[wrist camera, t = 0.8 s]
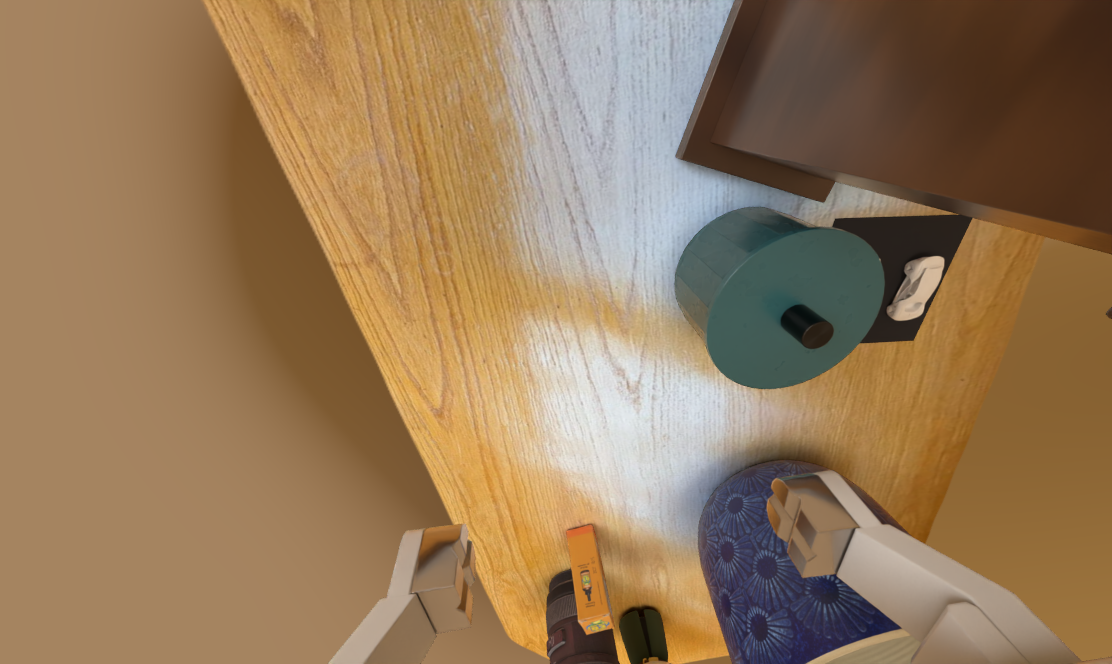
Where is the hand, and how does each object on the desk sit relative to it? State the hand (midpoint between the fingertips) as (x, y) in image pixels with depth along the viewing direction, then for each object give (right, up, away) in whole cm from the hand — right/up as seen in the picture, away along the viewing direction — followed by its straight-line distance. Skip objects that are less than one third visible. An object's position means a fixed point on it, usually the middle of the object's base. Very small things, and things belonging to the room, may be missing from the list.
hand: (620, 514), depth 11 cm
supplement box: (+1, -19, +39) cm, 44 cm away
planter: (+22, -15, +39) cm, 47 cm away
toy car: (+27, +9, +26) cm, 38 cm away
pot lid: (+14, +6, +17) cm, 23 cm away
